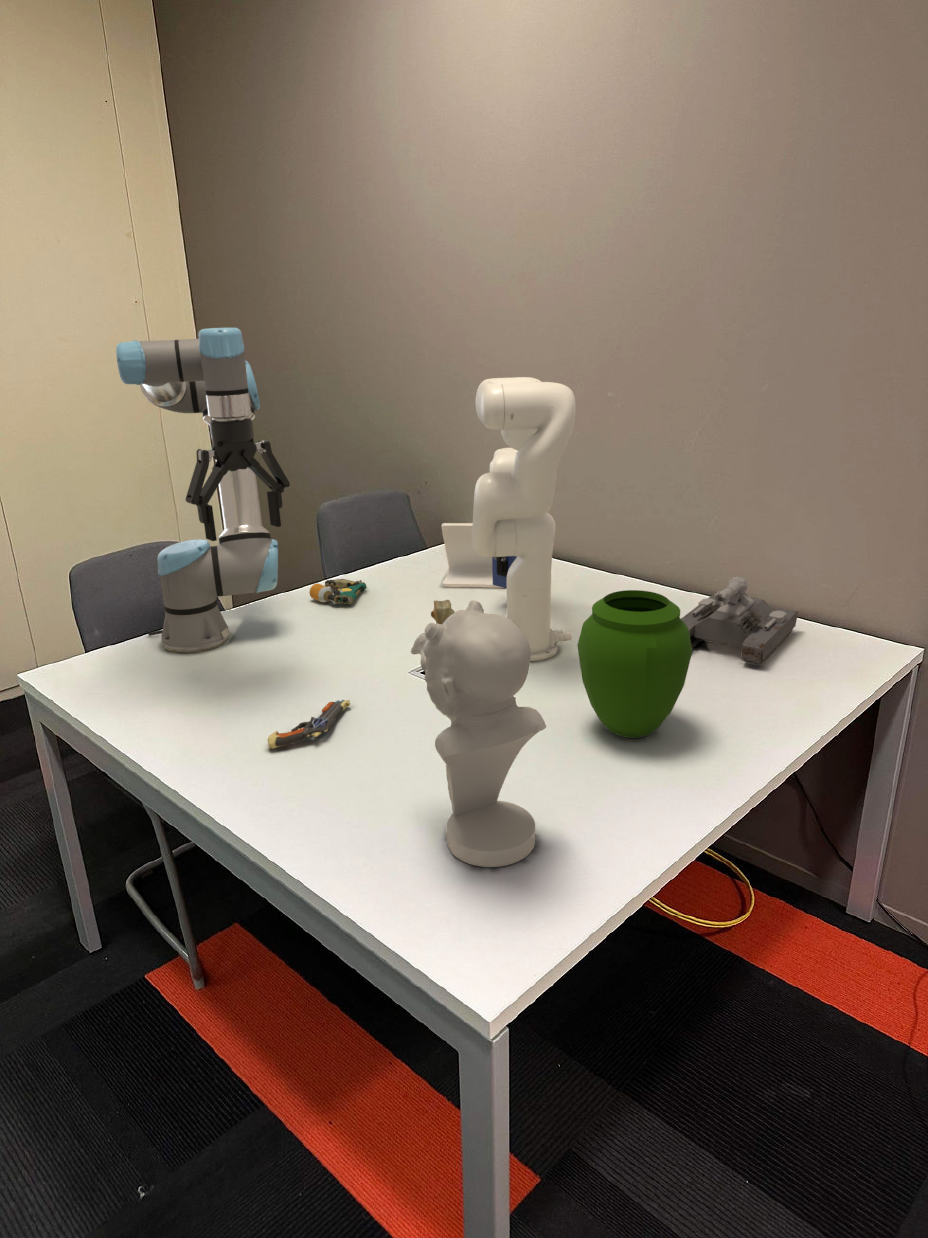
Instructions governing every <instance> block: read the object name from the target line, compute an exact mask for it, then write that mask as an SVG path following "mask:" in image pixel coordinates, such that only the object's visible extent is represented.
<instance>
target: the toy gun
mask: <svg viewBox="0 0 928 1238" xmlns="http://www.w3.org/2000/svg"><path fill="white" fill-rule="evenodd" d="M348 707H351V700H349V699H346V700H345V699H341V700H336V701H329V702H328V703H327V704H326V705H325V706H324V707H323V708H322V709H321V714H320V715H319V716H317V717H314V716H311V717H310V719H309V721H303V722H300V723H298V725H296V726H294V727H293V728H292V729H291V731H288V732H281V733H280V732H279V731H278V730H275V731H273V732H272V733H271V734H269V735H268V737H267V745H268V748H269V749H277V748H280V747H284V746H287V745H291V744H294V743H297V742H301V741H304V740H308V739H310V738H313V737H314V738H317V737H318V736H321V735H322V734H324V733H326V732H328V730H330V728H332V727H333V725H334V723H335V720H336V719H337V718H338V717H339V716H340V714H341V713H342V712H343V711H345V709H346V708H348Z"/></svg>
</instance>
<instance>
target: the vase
mask: <svg viewBox="0 0 928 1238" xmlns="http://www.w3.org/2000/svg"><path fill="white" fill-rule="evenodd" d="M681 618H682V617H681V609H680V607H679V606H678V605H677V604H676V603H674V602H673V601H672V600H670V599H669V598H667V596H664V595H663V594H660V593H657V592H653V591H648V590H642V589H641V590H638V589H628V590H619V591H613V592H611V593H609V594H606V595H605V596H603V597H602V598H600V599H599V600H597V601H595V602H594V603H593V604H592V607H591V614H590V615H589V616H588V617H587V619H586V620H584V621H583V623H582V626H581V628H580V632H579V637H578V640H577V645H576V646H577V653H578V660H579V668H580V675H581V680H582V684H583V686H584V689H585V692H586V696H587V697H588V700H589V704H590V706H591V707H592V710H593V711H594V712H595V714H596V716H597V718H598V719H599V721H600V722H601V723H602V725H603V726H604V727H605V728H606V729H607V730H608V731H609V732H610V733H612V734H614V735H616V736H618V737H619V736H620V737H623V738H628V739H636V738H637V739H638V738H643V737H648V736H649V735H651V734H653V733H654V732H655V731H657V729H659V728H660V727H661V726H662V725H663V723H664V722H665V721H666V719H668V717H669V716H670V714H671V713H672V711H673V709H674V708H675V705H676V703H677V701H678V699H679V697H680V695H681V693H682V691H683V688H684V686H685V684H686V679H687V676H688V670H689V666H690V663H691V659H692V655H693V648H692V647H691V640H690V634H689V629H688V627H687V626H686V624H685V623H684V622H683V621H682V620H681Z"/></svg>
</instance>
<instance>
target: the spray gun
mask: <svg viewBox="0 0 928 1238" xmlns="http://www.w3.org/2000/svg"><path fill="white" fill-rule="evenodd" d="M366 589H367V584H366V582H364V581H362V579H360V580H356V581H353V580H349V579H346V578H337V579H326V580H325V582H324V585H323V584H321V583H314V584H312V585H311V586H310V588H309V592H308V594H309V596H310V598H311V599H313V600H315V601H318V602H321V603H328V602H330V601H331V602H334V603H335V604H344V605H345V604H346V605H352V604H353V602H354V601H355V600H356V599H357V597H358V596H359V594H360V593H363V592H364V591H366Z"/></svg>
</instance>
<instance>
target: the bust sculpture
mask: <svg viewBox="0 0 928 1238" xmlns="http://www.w3.org/2000/svg"><path fill="white" fill-rule="evenodd" d="M454 612H455V613H453V614H452V615H451V616H450V617H448V618H447V619H446V620H445V622H444V623H443V624H436V623H435V622H430V623H428V624H427V625H426V626H425V628H424V632H423V633H421V634H419V635H418V636H417V637H416V638H415V640H414V642H413V645H412V647H411V649H410V654H412V655H420V667H421V669H422V670H423V672H424V681H425V682H426V690H427V693H428V696H429V698H430V701H431V702H432V704H434V706H435V708H436V710H438V711H439V712H440V713H441V714H442V716H446V717H447V718H448V719H449V720H450V726H448V727H446V728H445V729H443V730H442V731H441V732H440V733H439V734H438V735H436V738H435V741H434V748H435V749H436V752H437V753H438V755H439V757H440V758H441V760H442V761H443V762H444V763H445V771H446V781H447V790H448V796H449V800H450V803H451V810H452V813H451V814H450V815H449V817H448V819H447V822H446V844H447V847H448V849H449V851H450V852H451V854H452V855H453V856H454V857H456V858H457V859H459V860H460V861H462V862H463V863H466V864H469V865H471V866H476V867H483V868H498V867H505V866H509V865H512V864H517V862H520V861H521V860H523V859H525V858H527V856H528V855H530V854H531V852H532V851H533V849H535V848H534V847H535V845H536V822H535V821H536V820H535V819H534V817H533V816H532V814H531V813H530V812H529V811H528V810H526V809H525V808H524V807H522V806H520V805H517V804H515V803H513V802H509V801H504V800H499V796H500V793H501V790H502V788H503V785H504V783H505V780H506V778H507V776H508V773H509V771H510V769H511V768H512V765H513V763H514V761H515V760H516V759H517V756H518V755H519V753H520V752H521V750H522V749H523V748H524V747H525V745H526V744H527V743H528V742H529V741H530V740H531V739H532V738H533V737H535V735H537V734H538V733H539V732H541V731H544V730H545V729H546V728H547V725H546V723H545V720H544V718H543V717H542V714H541V713H540V712H539V711H538V710H537V709H535V708H533V707H530V706H518V705H517V701H516V699H517V698H516V696H515V695H516V694H517V693H519V691H521V689H522V688H523V686H524V684H525V683H526V680H527V678H528V675H529V669H530V666H531V661H530V656H531V655H530V653H531V652H530V646H529V643H528V640H527V638H526V636H525V634H524V633H523V632H522V630H521V629H520V628H519V627H518V626H517V625H516V624H515V623H514V622H513V621H512V620H511V619H509V618H507V616H504V615H503V614H502V615H501V614H496V613H485V609H484V607H483V605H482V603H481V602H480V601H478V600H473V599H472V600H470V601H469V603H468V605H467V607H466V609H460V610H457V611H454Z"/></svg>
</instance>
